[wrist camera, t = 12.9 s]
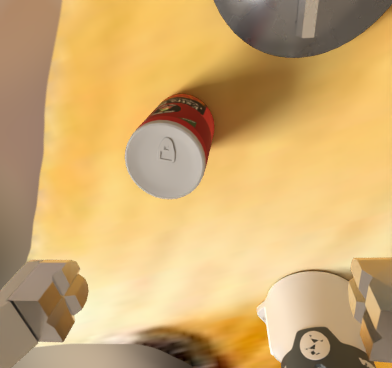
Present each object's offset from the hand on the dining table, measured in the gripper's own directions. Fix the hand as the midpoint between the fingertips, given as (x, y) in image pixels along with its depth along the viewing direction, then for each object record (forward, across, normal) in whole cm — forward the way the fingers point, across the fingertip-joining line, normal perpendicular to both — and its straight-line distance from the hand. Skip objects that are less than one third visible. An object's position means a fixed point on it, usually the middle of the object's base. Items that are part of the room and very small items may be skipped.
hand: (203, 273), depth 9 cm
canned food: (+28, +7, +4) cm, 29 cm away
